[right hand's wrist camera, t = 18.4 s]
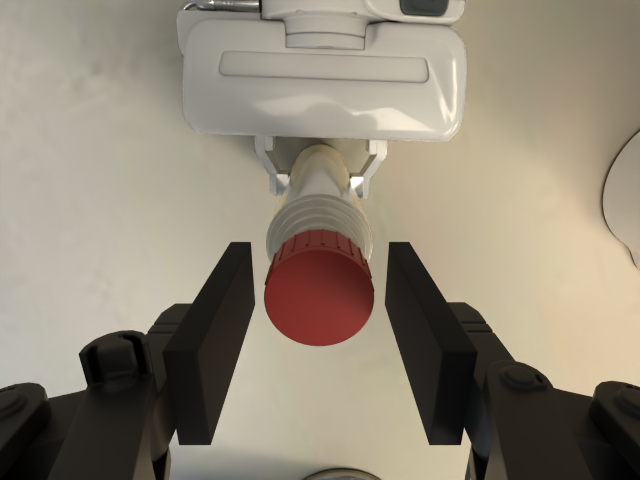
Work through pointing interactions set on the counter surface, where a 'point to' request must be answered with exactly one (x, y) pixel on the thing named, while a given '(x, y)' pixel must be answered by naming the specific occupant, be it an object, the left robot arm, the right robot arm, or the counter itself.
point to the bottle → (319, 202)
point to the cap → (319, 288)
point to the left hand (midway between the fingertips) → (319, 195)
